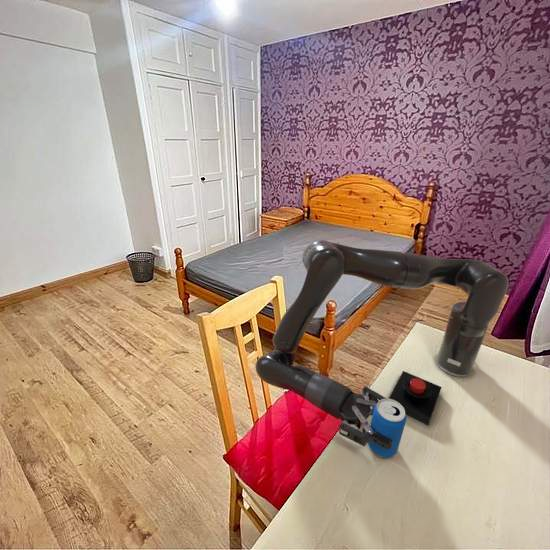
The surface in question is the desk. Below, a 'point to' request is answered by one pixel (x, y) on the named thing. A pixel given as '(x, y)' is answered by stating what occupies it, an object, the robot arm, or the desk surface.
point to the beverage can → (388, 425)
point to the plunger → (417, 386)
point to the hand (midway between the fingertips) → (397, 432)
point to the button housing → (416, 398)
